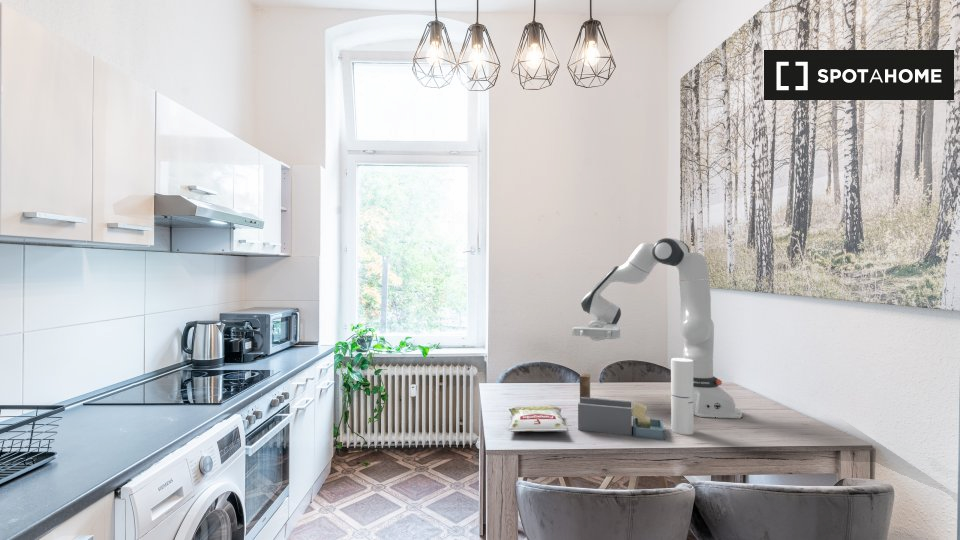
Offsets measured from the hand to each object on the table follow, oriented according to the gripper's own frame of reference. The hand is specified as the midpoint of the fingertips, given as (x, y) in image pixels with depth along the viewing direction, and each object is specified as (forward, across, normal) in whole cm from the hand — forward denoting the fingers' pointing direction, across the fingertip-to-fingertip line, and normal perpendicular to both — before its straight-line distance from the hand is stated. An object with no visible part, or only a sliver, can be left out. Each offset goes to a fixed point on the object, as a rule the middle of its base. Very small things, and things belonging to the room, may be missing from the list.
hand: (594, 334), depth 186 cm
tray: (+26, +20, +30) cm, 44 cm away
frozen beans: (+32, -18, +30) cm, 48 cm away
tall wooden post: (+15, -3, +30) cm, 34 cm away
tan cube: (+26, +16, +25) cm, 39 cm away
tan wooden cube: (+26, +16, +27) cm, 41 cm away
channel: (+26, +5, +30) cm, 40 cm away
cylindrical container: (+21, +31, +30) cm, 48 cm away
